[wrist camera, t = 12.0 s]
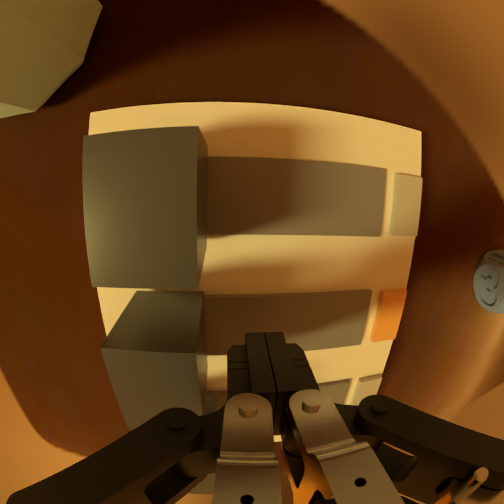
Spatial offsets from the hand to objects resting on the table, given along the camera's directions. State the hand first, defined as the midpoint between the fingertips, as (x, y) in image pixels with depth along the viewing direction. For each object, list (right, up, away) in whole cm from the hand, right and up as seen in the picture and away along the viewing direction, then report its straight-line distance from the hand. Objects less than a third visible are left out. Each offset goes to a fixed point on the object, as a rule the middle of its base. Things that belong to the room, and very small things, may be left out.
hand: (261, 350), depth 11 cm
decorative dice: (+20, +2, +7) cm, 21 cm away
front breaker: (-4, +6, 0) cm, 7 cm away
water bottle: (-14, +17, -1) cm, 22 cm away
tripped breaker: (-4, 0, +1) cm, 4 cm away
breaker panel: (0, +1, +5) cm, 5 cm away
